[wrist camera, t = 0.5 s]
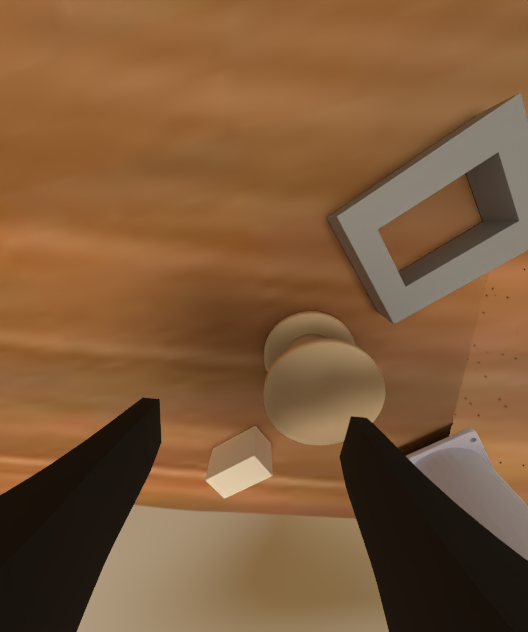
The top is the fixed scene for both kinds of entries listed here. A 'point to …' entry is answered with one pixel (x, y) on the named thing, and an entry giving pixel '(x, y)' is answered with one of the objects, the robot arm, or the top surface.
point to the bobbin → (318, 379)
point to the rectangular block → (240, 462)
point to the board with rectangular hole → (424, 180)
